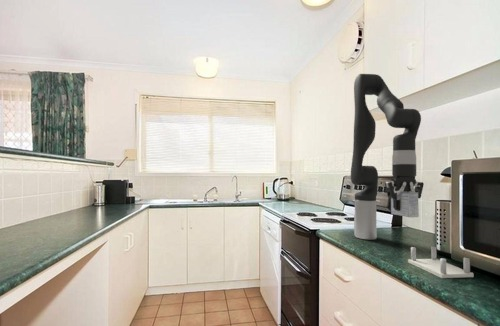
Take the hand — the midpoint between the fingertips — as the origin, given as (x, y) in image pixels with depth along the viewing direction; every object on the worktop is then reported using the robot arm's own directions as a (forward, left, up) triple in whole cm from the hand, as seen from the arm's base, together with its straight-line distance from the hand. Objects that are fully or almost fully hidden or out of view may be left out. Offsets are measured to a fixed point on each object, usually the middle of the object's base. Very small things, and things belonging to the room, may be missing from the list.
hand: (404, 210), depth 93 cm
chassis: (+13, +1, -16) cm, 21 cm away
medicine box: (0, 0, -2) cm, 2 cm away
